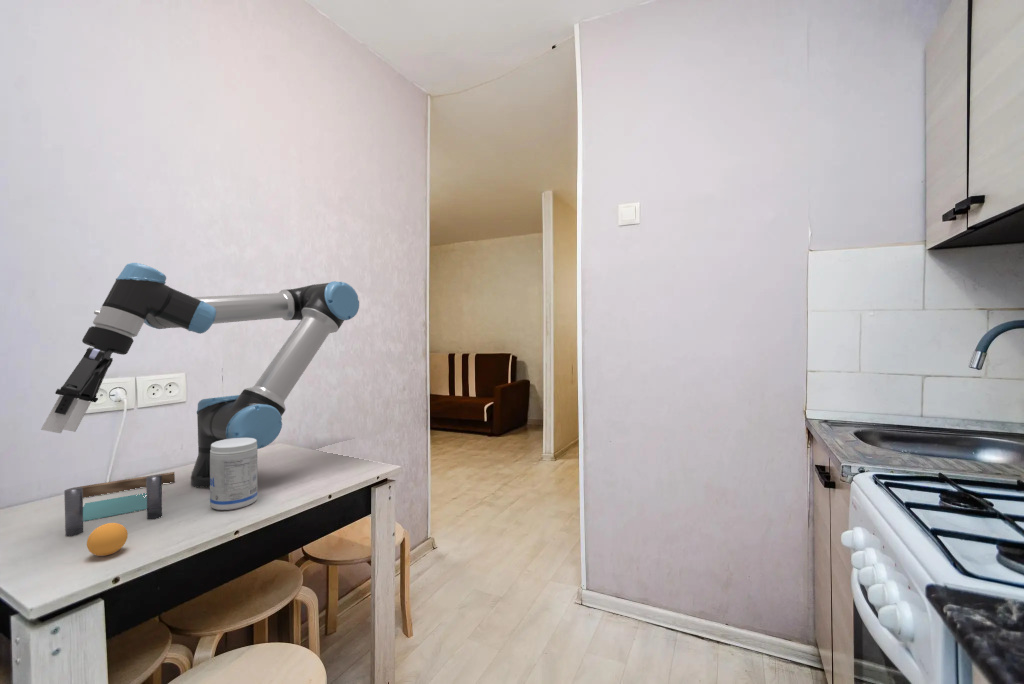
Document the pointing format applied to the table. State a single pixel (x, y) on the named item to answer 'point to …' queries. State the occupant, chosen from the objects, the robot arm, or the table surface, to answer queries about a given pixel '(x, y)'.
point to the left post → (73, 511)
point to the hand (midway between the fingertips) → (59, 431)
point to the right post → (154, 496)
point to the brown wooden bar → (122, 485)
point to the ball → (107, 539)
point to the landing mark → (114, 506)
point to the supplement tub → (233, 473)
